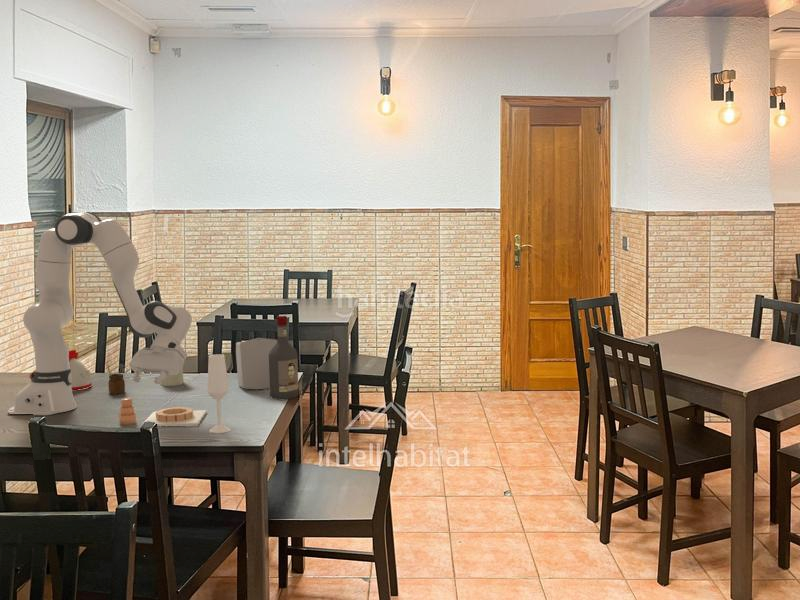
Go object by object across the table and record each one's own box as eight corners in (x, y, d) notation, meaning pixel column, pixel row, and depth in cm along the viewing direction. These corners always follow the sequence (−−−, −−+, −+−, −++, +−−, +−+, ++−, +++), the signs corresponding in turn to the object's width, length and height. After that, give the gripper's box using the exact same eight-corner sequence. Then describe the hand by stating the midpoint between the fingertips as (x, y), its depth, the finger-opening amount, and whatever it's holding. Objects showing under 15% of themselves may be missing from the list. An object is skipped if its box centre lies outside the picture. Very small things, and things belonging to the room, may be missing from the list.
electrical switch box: (272, 386, 359) (269, 336, 360) (280, 388, 345) (277, 336, 346) (236, 389, 354) (232, 339, 355) (243, 391, 340) (239, 339, 341)
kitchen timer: (98, 384, 358) (96, 347, 357) (80, 392, 345) (78, 353, 343) (66, 384, 361) (64, 347, 359) (47, 391, 347) (45, 353, 346)
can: (188, 382, 359) (187, 353, 358) (171, 386, 351) (170, 356, 350) (172, 380, 364) (171, 351, 363) (155, 384, 356) (153, 354, 355)
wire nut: (117, 425, 292) (116, 401, 291) (121, 421, 297) (120, 397, 297) (133, 424, 293) (132, 400, 292) (137, 420, 298) (136, 397, 297)
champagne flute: (211, 427, 287) (208, 353, 284) (232, 427, 287) (229, 353, 284) (206, 433, 281) (203, 357, 278) (227, 432, 280) (224, 357, 278)
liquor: (266, 397, 330) (264, 316, 327) (286, 392, 337) (283, 314, 333) (282, 400, 324) (280, 318, 320) (301, 396, 330) (299, 315, 327)
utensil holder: (125, 393, 340) (123, 362, 339) (107, 395, 338) (106, 363, 337) (125, 390, 346) (123, 360, 344) (108, 392, 344) (106, 361, 342)
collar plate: (141, 427, 288) (140, 418, 288) (153, 414, 306) (153, 405, 306) (197, 426, 289) (197, 417, 289) (206, 412, 307) (206, 404, 307)
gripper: (136, 341, 312) (117, 374, 304) (182, 345, 303) (164, 379, 295) (146, 352, 316) (127, 384, 309) (191, 355, 307) (173, 389, 300)
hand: (145, 382), depth 302 cm, fingers open, 8 cm apart
